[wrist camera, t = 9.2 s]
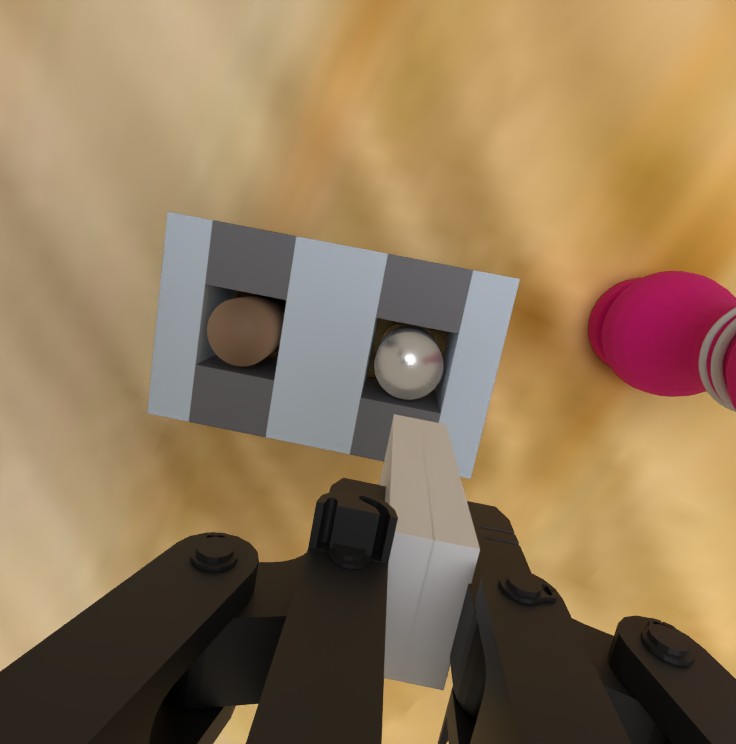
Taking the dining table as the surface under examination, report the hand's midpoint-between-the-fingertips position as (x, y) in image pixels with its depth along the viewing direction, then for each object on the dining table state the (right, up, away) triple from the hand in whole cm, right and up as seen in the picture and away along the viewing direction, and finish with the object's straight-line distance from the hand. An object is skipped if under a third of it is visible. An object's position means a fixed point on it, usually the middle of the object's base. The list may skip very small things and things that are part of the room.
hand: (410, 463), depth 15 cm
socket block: (-3, +5, +21) cm, 22 cm away
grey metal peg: (+2, +4, +21) cm, 22 cm away
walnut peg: (-8, +6, +21) cm, 24 cm away
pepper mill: (+17, +6, +20) cm, 27 cm away
